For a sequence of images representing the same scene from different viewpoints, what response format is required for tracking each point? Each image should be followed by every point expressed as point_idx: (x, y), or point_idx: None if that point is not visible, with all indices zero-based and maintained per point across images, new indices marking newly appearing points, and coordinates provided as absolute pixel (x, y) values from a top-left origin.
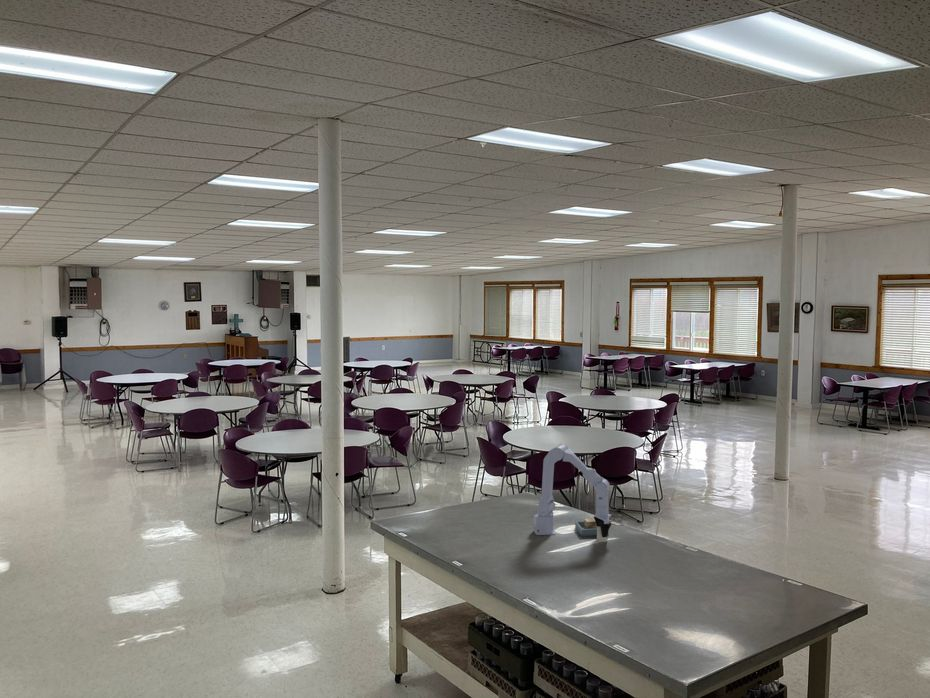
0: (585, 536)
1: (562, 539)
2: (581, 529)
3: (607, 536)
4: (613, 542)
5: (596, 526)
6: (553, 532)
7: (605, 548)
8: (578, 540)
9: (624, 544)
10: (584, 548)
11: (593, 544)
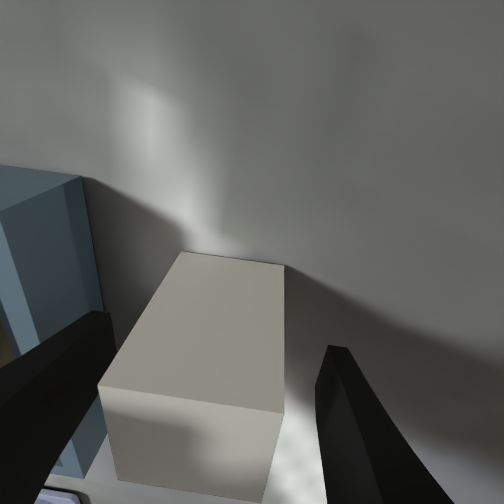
0: None
1: (164, 491)
2: (77, 477)
3: (282, 306)
4: (320, 203)
5: None
6: (49, 500)
7: (464, 355)
8: None
9: (467, 72)
10: None
11: (314, 395)
